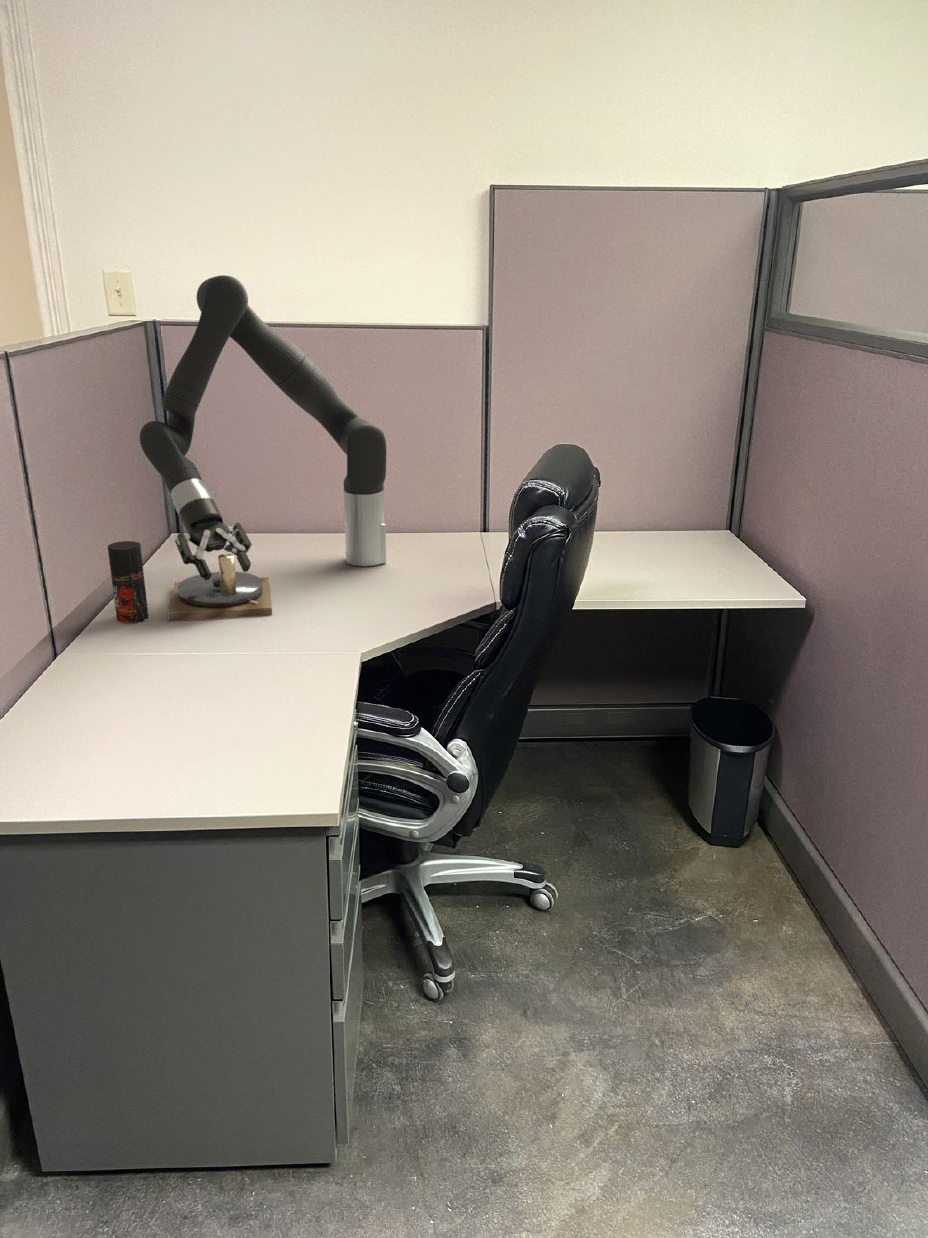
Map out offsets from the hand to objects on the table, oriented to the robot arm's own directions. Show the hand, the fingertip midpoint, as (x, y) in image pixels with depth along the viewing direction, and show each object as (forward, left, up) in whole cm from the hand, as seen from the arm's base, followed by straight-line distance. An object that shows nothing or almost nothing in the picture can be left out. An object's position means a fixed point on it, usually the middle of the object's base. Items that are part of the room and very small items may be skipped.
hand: (228, 573), depth 182 cm
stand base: (+2, -7, -8) cm, 11 cm away
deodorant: (+19, 0, -8) cm, 21 cm away
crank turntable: (+2, -7, -6) cm, 10 cm away
